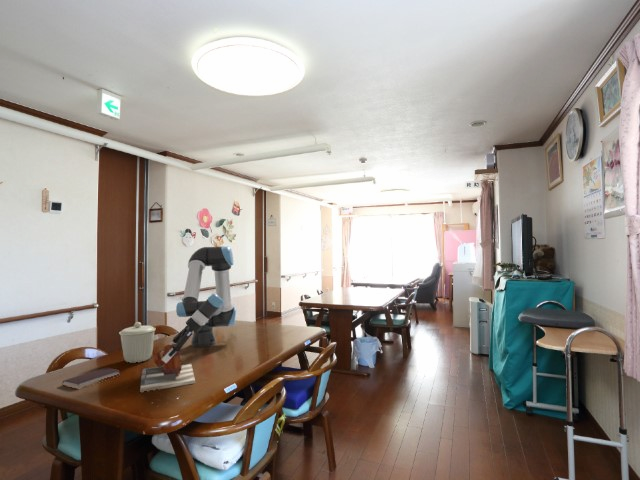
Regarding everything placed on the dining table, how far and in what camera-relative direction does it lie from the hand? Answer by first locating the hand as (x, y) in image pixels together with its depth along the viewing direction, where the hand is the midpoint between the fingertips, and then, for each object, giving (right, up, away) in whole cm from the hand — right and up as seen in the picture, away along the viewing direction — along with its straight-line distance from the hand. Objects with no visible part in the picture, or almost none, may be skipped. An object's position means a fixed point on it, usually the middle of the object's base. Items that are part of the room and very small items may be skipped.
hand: (163, 357), depth 163 cm
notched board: (+2, -10, 0) cm, 10 cm away
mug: (+2, -9, 0) cm, 9 cm away
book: (-34, -12, +1) cm, 36 cm away
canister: (-28, -12, +30) cm, 42 cm away
